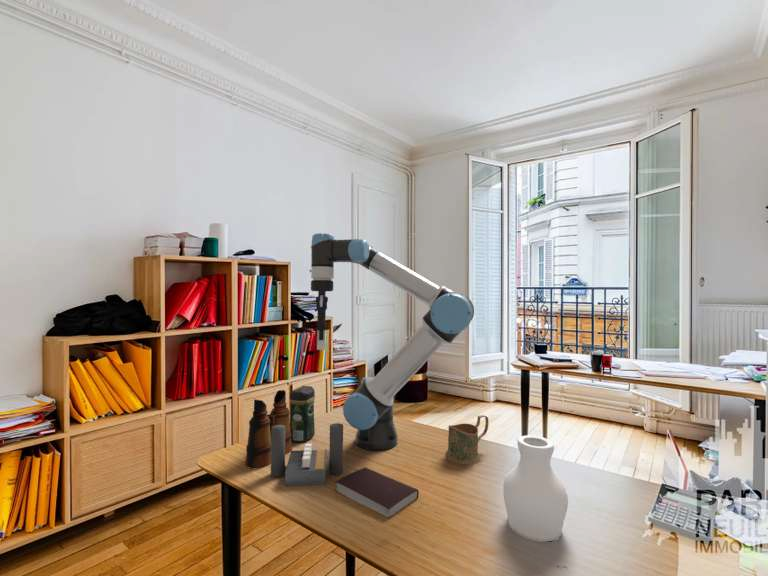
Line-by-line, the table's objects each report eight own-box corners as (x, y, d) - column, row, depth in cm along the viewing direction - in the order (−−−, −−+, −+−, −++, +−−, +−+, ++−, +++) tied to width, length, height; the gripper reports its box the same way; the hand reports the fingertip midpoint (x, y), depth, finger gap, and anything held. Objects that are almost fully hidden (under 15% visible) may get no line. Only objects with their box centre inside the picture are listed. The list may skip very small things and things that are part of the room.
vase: (582, 539, 88) (583, 450, 88) (527, 550, 84) (528, 457, 84) (539, 505, 101) (540, 428, 101) (490, 513, 97) (492, 433, 97)
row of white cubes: (311, 451, 122) (311, 443, 122) (309, 467, 111) (309, 458, 111) (305, 451, 122) (305, 443, 122) (302, 467, 111) (302, 459, 111)
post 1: (285, 471, 118) (286, 424, 118) (283, 477, 114) (284, 429, 114) (271, 471, 117) (272, 425, 117) (269, 478, 113) (270, 429, 113)
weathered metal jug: (500, 454, 132) (500, 419, 132) (463, 467, 122) (463, 429, 122) (474, 443, 142) (474, 409, 142) (437, 454, 132) (438, 418, 132)
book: (365, 476, 117) (365, 465, 117) (419, 499, 104) (419, 487, 104) (334, 492, 107) (334, 480, 107) (388, 520, 95) (389, 507, 95)
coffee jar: (298, 432, 150) (299, 383, 150) (317, 434, 148) (318, 385, 148) (285, 441, 141) (285, 389, 141) (305, 444, 138) (305, 391, 138)
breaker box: (326, 462, 124) (326, 449, 124) (325, 484, 110) (325, 469, 110) (290, 463, 123) (291, 450, 123) (285, 486, 109) (285, 470, 109)
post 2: (342, 468, 120) (343, 423, 120) (342, 475, 116) (343, 427, 116) (329, 469, 119) (329, 423, 119) (328, 475, 116) (329, 428, 116)
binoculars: (260, 470, 118) (261, 404, 118) (239, 465, 121) (240, 400, 121) (297, 448, 135) (297, 390, 135) (277, 444, 138) (278, 387, 138)
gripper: (312, 279, 139) (311, 346, 139) (309, 279, 126) (308, 352, 126) (333, 280, 140) (332, 346, 140) (333, 279, 127) (332, 352, 127)
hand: (321, 349), depth 133 cm, fingers closed
